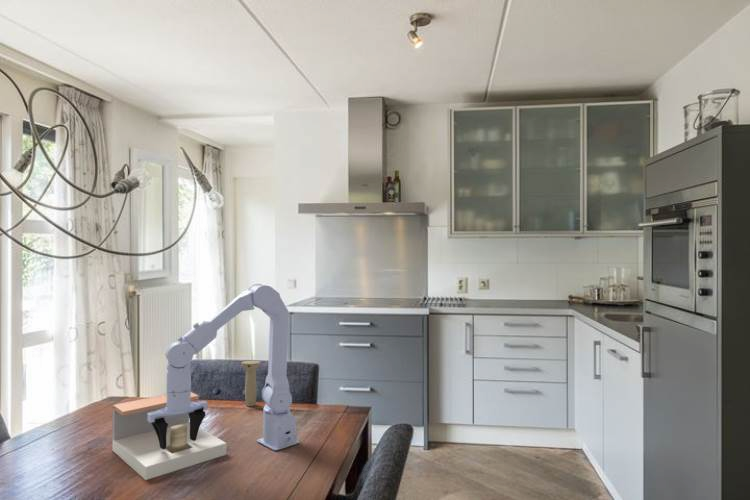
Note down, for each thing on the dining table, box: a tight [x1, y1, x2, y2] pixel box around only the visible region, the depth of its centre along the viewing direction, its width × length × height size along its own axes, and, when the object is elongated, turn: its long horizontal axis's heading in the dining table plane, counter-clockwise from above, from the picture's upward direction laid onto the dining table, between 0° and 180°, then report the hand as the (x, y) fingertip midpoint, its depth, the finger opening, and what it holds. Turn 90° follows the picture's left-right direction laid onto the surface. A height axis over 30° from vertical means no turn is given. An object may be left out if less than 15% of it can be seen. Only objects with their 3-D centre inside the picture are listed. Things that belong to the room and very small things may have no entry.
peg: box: [170, 425, 187, 453], centre depth 120 cm, size 4×4×8 cm
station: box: [111, 391, 227, 481], centre depth 124 cm, size 24×20×12 cm
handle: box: [240, 360, 262, 407], centre depth 164 cm, size 5×6×15 cm
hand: (178, 443), depth 120 cm, fingers open, 7 cm apart
